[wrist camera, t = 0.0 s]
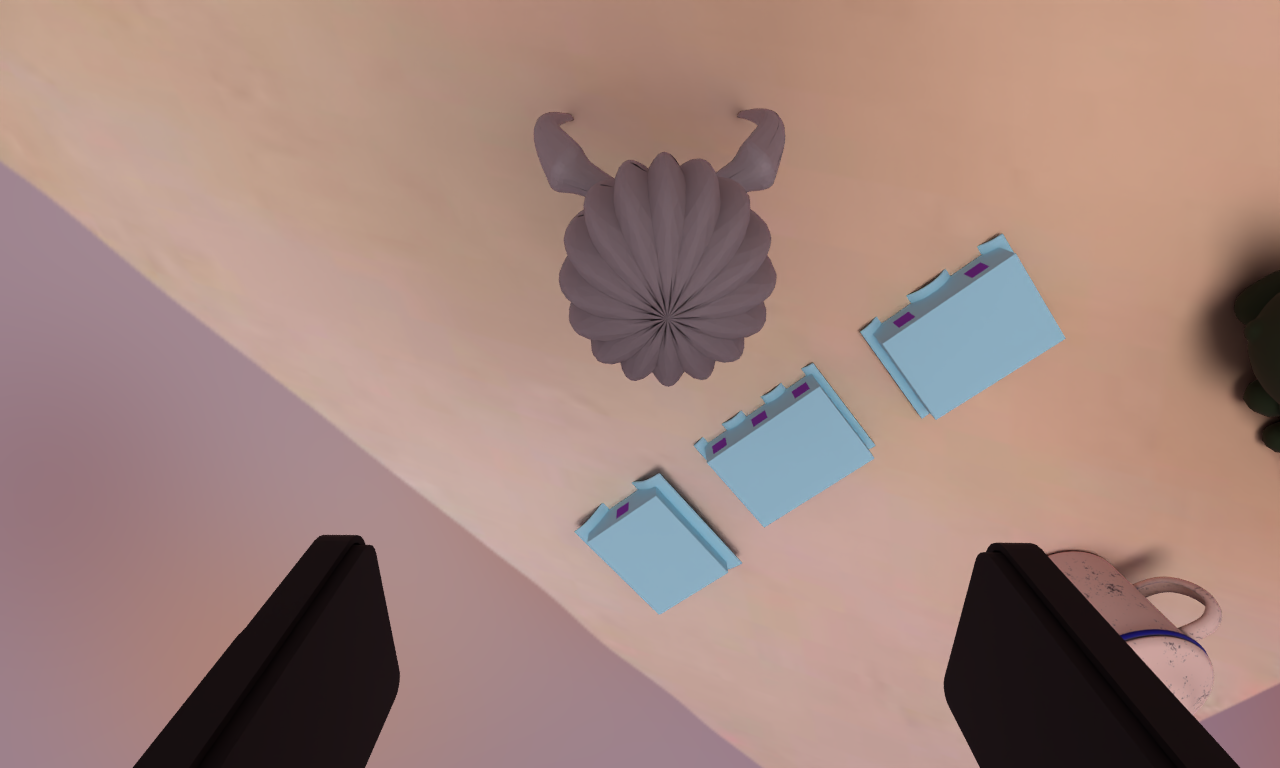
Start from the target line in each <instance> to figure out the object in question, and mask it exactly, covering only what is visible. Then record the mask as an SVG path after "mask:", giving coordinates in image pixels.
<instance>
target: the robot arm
mask: <svg viewBox="0 0 1280 768" xmlns="http://www.w3.org/2000/svg"><path fill="white" fill-rule="evenodd" d="M399 680H400V672H399V666H398V661H397V656H396V651H395V646H394V641H393V636H392V631H391V626H390V621H389V616H388V611H387V606H386V601H385V596H384V591H383V586H382V581H381V576H380V570H379V566H378V561H377V555H376V552H375V549H374V547H373V546H372V545H365V542H364V540H363V539H362V537H361V536H358V535H322V536H319V537H318V538H317V539H316V540H315V541H314V542H313V543H312V545H311V546H310V547H309V548H308V550H307V551H306V552H305V553H304V555H303V556H302V557H301V558H300V560H299V561H298V562H297V563H296V565H295V566H294V567H293V569H292V570H291V571H290V572H289V574H288V575H287V576H286V577H285V579H284V580H283V581H282V582H281V584H280V585H279V586H278V587H277V589H276V590H275V591H274V592H273V594H272V595H271V596H270V598H269V599H268V600H267V601H266V603H265V604H264V605H263V606H262V608H261V609H260V610H259V611H258V613H257V614H256V615H255V617H254V618H253V619H252V620H251V622H250V623H249V624H248V625H247V627H246V628H245V629H244V630H243V631H242V632H241V633H240V634H239V635H238V636H237V637H236V638H235V640H234V641H233V642H232V643H231V645H230V646H229V647H228V648H227V650H226V651H225V652H224V654H223V655H222V656H221V657H220V659H219V660H218V661H217V662H216V664H215V665H214V666H213V668H212V669H211V670H210V671H209V672H208V674H207V675H206V677H204V679H203V680H202V681H201V683H200V684H199V685H198V686H197V688H196V689H195V690H194V691H193V693H192V694H191V695H190V696H189V698H188V699H187V700H186V701H185V703H184V704H183V705H182V706H181V708H180V709H179V710H178V711H177V713H176V714H175V715H174V716H173V718H172V719H171V720H170V721H169V723H168V724H167V725H166V726H165V728H164V729H163V730H162V732H161V733H160V734H159V735H158V737H157V738H156V739H155V740H154V742H153V743H152V744H151V745H150V747H149V748H148V749H147V750H146V752H145V753H144V754H143V756H142V757H141V758H140V759H139V760H138V762H137V763H136V764H135V765H134V767H133V768H365V766H366V764H367V762H368V759H369V757H370V755H371V753H372V750H373V748H374V746H375V743H376V741H377V739H378V737H379V734H380V732H381V730H382V727H383V725H384V723H385V721H386V718H387V716H388V714H389V711H390V709H391V707H392V705H393V702H394V700H395V698H396V695H397V692H398V687H399ZM944 692H945V697H946V701H947V703H948V705H949V708H950V710H951V712H952V714H953V716H954V717H955V719H956V721H957V723H958V725H959V727H960V729H961V731H962V733H963V735H964V737H965V739H966V741H967V743H968V745H969V747H970V749H971V751H972V753H973V755H974V757H975V759H976V761H977V763H978V765H979V767H980V768H1240V767H1239V766H1238V765H1237V764H1236V762H1235V761H1234V760H1233V759H1232V758H1231V757H1230V756H1229V755H1228V754H1227V753H1226V751H1225V750H1224V749H1223V748H1222V747H1221V746H1220V745H1219V744H1218V743H1217V742H1216V740H1215V739H1214V738H1213V737H1212V736H1211V735H1210V734H1209V733H1208V732H1207V731H1206V729H1205V728H1204V727H1203V726H1202V725H1201V724H1200V723H1199V722H1198V721H1197V720H1196V718H1195V717H1194V716H1193V715H1192V714H1191V713H1190V712H1189V711H1188V710H1187V709H1186V707H1185V706H1184V705H1183V704H1182V703H1181V702H1180V701H1179V700H1178V699H1177V698H1176V696H1175V695H1174V694H1173V693H1172V692H1171V691H1170V690H1169V689H1168V688H1167V687H1166V685H1165V684H1164V683H1163V682H1162V681H1161V680H1160V679H1159V678H1158V677H1157V676H1156V674H1155V673H1154V672H1153V671H1152V670H1151V669H1150V668H1149V667H1148V666H1147V665H1146V663H1145V662H1144V661H1143V660H1142V659H1141V658H1140V657H1139V656H1138V655H1137V654H1136V653H1135V651H1134V650H1133V649H1132V648H1131V647H1130V646H1129V645H1128V644H1127V643H1126V642H1125V640H1124V639H1123V638H1122V637H1121V636H1120V635H1119V634H1118V633H1117V632H1116V631H1115V629H1114V628H1113V627H1112V626H1111V625H1110V624H1109V623H1108V622H1107V621H1106V620H1105V618H1104V617H1103V616H1102V615H1101V614H1100V613H1099V612H1098V611H1097V610H1096V609H1095V607H1094V606H1093V605H1092V604H1091V603H1090V602H1089V601H1088V600H1087V599H1086V598H1085V596H1084V595H1083V594H1082V593H1081V592H1080V591H1079V590H1078V589H1077V588H1076V587H1075V585H1074V584H1073V583H1072V582H1071V581H1070V580H1069V579H1068V578H1067V577H1066V576H1065V574H1064V573H1063V572H1062V571H1061V570H1060V569H1059V568H1058V567H1057V566H1056V565H1055V564H1054V562H1053V561H1052V560H1051V559H1050V558H1049V557H1048V556H1047V555H1046V554H1045V553H1044V551H1043V550H1042V549H1041V548H1039V547H1038V546H1037V545H1035V544H1032V543H993V544H991V545H990V546H989V547H988V549H987V551H986V552H983V553H980V554H979V555H978V556H977V558H976V561H975V564H974V568H973V572H972V576H971V580H970V583H969V587H968V591H967V595H966V598H965V602H964V606H963V610H962V613H961V617H960V621H959V625H958V628H957V632H956V636H955V640H954V644H953V647H952V651H951V655H950V659H949V662H948V666H947V670H946V674H945V677H944Z"/></svg>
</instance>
